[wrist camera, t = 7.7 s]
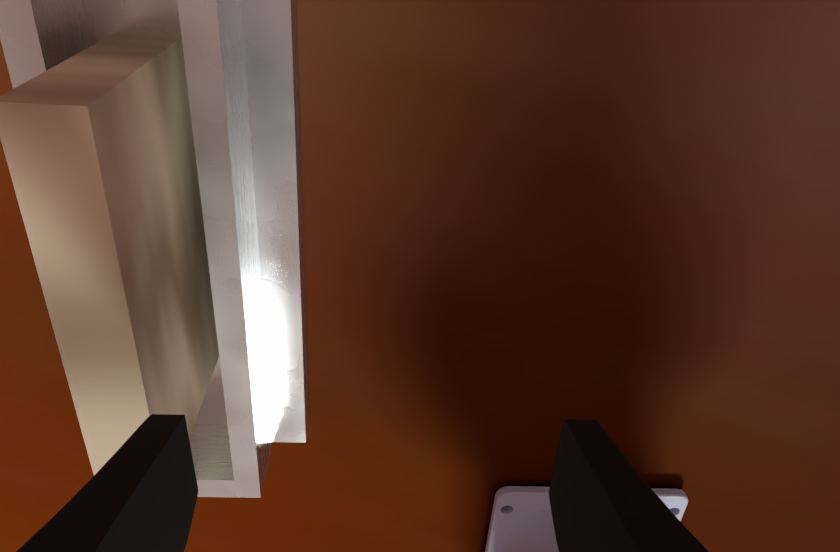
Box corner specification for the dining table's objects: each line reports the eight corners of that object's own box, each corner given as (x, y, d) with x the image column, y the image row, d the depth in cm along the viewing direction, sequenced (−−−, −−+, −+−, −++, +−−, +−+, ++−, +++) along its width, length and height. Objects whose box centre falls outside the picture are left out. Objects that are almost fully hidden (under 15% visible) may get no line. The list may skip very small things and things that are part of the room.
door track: (308, 423, 25) (297, 498, 22) (117, 419, 24) (79, 495, 21) (291, -145, 15) (267, -151, 12) (-20, -169, 15) (-124, -182, 12)
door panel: (220, 353, 21) (166, 501, 16) (170, 351, 21) (100, 500, 16) (182, 35, 16) (87, 106, 11) (117, 31, 16) (-10, 101, 11)
